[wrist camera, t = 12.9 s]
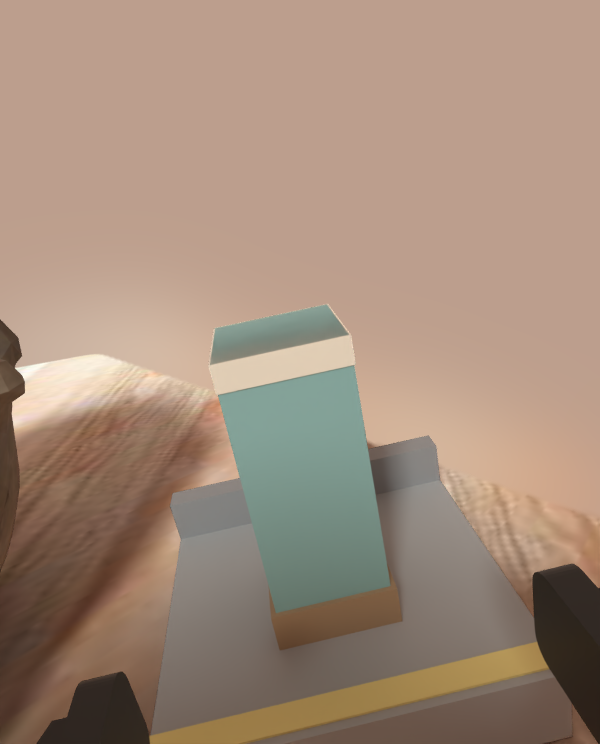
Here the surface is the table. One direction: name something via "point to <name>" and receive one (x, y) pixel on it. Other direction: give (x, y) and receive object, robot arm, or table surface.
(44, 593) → the table surface
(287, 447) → the teal tall block
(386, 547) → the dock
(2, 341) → the bowl
